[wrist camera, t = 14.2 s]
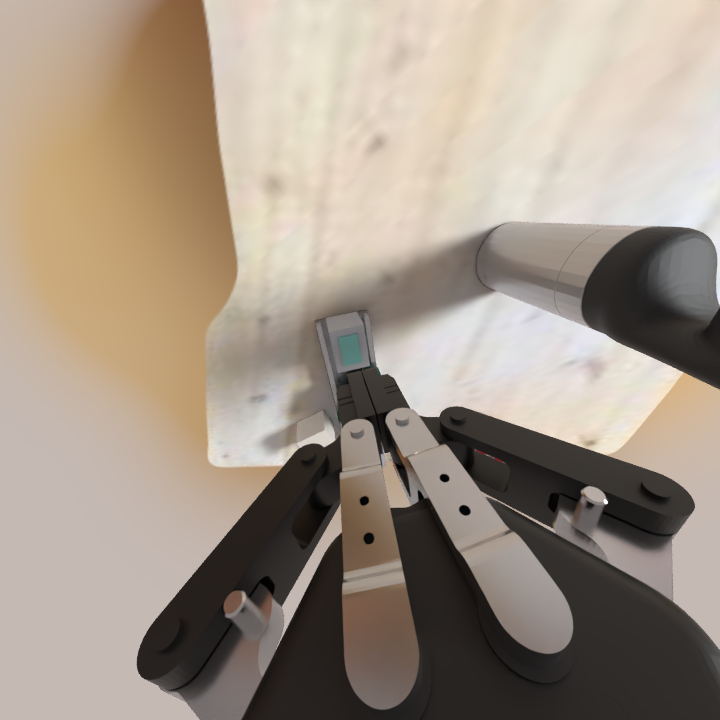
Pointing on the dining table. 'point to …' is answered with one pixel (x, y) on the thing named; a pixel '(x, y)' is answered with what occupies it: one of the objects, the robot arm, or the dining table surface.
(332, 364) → the rail
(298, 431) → the loose relay
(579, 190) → the dining table surface
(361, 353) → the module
